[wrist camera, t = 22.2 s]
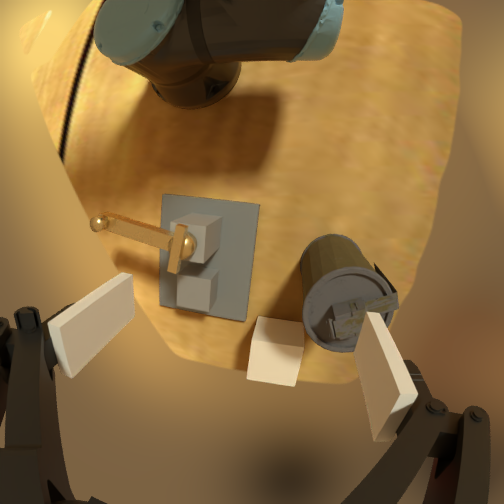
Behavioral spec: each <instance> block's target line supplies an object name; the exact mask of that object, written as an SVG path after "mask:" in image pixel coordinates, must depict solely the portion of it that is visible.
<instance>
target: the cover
mask: <svg viewBox="0 0 504 504" xmlns="http://www.w3.org/2000/svg"><path fill="white" fill-rule="evenodd" d="M303 351H304V324H303V322H295V321H288V320H282V319H275V318H268V317H262V316H258V319H257V322H256V326H255V330H254V333H253V337H252V342H251V349H250V357H249V364H248V371H247V378H246V379H249V380H254V381H260V382H267V383H273V384H280V385H287V386H295V383H296V379H297V376H298V372H299V368H300V364H301V360H302V356H303Z"/></svg>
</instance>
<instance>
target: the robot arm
mask: <svg viewBox="0 0 504 504" xmlns="http://www.w3.org/2000/svg"><path fill="white" fill-rule="evenodd" d="M343 1H344V0H106V1H105V3H104V4H103V6H102V8H101V9H100V11H99V14H98V16H97V19H96V22H95V27H94V40H95V44H96V46H97V48H98V49H99V51H100V52H101V53H102V54H103V55H105V56H106V57H108V58H110V59H111V60H112V62H113V63H115V64H117V65H120V66H121V65H122V66H124V67H126V68H128V69H130V70H132V71H134V72H135V73H137V74H139V75H141V76H143V77H145V78H147V79H149V80H150V82H151V84H152V86H153V89H154V90H155V92H156V93H157V94H158V96H159V97H160V98H162V99H163V100H164V101H166V102H167V103H169V104H171V105H174V106H176V107H179V108H183V109H198V108H203V107H206V106H209V105H211V104H213V103H215V102H217V101H219V100H220V99H222V98H223V97H224V96H225V95H226V94H227V93H228V92H229V91H230V90H231V89H232V88H233V86H234V85H235V83H236V82H237V80H238V77H239V75H240V71H241V62H248V61H286V62H295V61H316V60H321V59H323V58H324V57H327V56H328V55H329V54H330V53H331V52H332V50H333V49H334V47H335V44H336V42H337V39H338V36H339V33H340V29H341V24H342V19H343V11H344V8H343V5H342V4H343ZM134 316H135V310H134V293H133V274H128V273H123V272H121V273H120V274H118V275H117V276H115V277H114V278H112V279H111V280H109V281H108V282H106V283H105V284H103V285H102V286H100V287H99V288H97V289H96V290H94V291H93V292H91V293H90V294H88V295H87V296H85V297H84V298H82V299H81V300H79V301H78V302H77V303H73V304H70V305H67V306H66V307H64V308H63V309H61V311H58V312H57V313H56V314H54V315H53V316H51V317H50V318H48V319H47V320H46V321H44V322H43V323H41V320H40V315H39V310H38V309H37V308H35V307H22V308H20V309H18V310H17V311H16V312H15V313H14V318H15V321H16V325H17V329H14V328H10V325H9V321H8V319H6V318H3V317H0V426H1V422H2V420H3V417H4V413H5V411H6V421H5V448H0V504H107V503H104V502H102V501H100V500H98V499H96V498H94V497H91V498H90V500H89V501H88V502H87V501H81V500H76V499H75V498H74V495H73V493H72V491H71V489H70V485H69V481H68V476H67V471H66V467H65V461H64V456H63V450H62V444H61V437H60V430H59V422H58V412H57V401H56V386H55V372H54V369H53V367H54V366H55V365H56V364H57V363H58V366H59V369H60V372H61V373H62V374H64V375H66V376H68V377H70V378H73V377H74V376H75V375H76V374H77V373H78V372H79V371H80V370H81V369H82V368H83V367H84V366H85V365H86V364H87V363H88V362H89V361H90V360H91V359H92V358H93V357H94V356H95V355H96V354H97V353H98V352H99V351H100V350H101V349H102V348H103V347H104V346H105V345H106V344H107V343H108V342H109V341H110V340H111V339H112V338H113V337H114V336H115V335H116V334H117V333H118V332H119V331H120V330H121V329H122V328H123V327H124V326H125V325H126V324H127V323H128V322H129V321H130V320H131V319H133V318H134ZM354 358H355V362H356V365H357V369H358V373H359V377H360V382H361V386H362V390H363V394H364V398H365V403H366V407H367V412H368V416H369V421H370V425H371V430H372V435H373V440H374V442H385V441H391V440H392V438H393V436H394V435H395V433H397V439H396V440H395V441H394V442H393V444H392V445H391V447H390V448H389V449H388V450H387V452H386V453H385V454H384V455H383V457H382V458H381V459H380V460H379V462H378V463H377V464H376V465H375V467H374V468H373V469H372V470H371V471H370V473H369V474H368V475H367V476H366V477H365V478H364V479H363V480H362V482H361V483H360V484H359V485H358V486H357V487H356V488H355V489H354V490H353V491H352V492H351V493H350V495H349V496H348V497H347V498H346V499H345V500H344V501H343V502H342V503H341V504H397V502H398V501H399V500H400V498H401V497H402V495H403V494H404V492H405V491H406V490H407V488H408V486H409V485H410V483H411V482H412V480H413V479H414V477H415V476H416V474H417V472H418V471H419V469H420V467H421V466H422V464H423V462H424V461H425V459H426V457H427V456H428V457H434V460H433V465H432V470H431V474H430V479H429V482H428V486H427V490H426V494H425V498H424V501H423V504H487V503H488V493H489V481H490V421H489V416H488V414H487V413H486V411H485V410H484V409H482V408H480V407H478V406H470V407H468V408H466V409H465V411H464V412H463V414H458V413H452V412H449V411H448V408H447V406H446V405H445V404H444V403H443V402H442V401H440V400H438V399H435V398H433V397H432V395H431V393H430V391H429V389H428V387H427V385H426V383H425V381H424V379H423V377H422V375H421V373H420V371H419V369H418V367H417V366H416V365H415V364H414V363H413V362H412V361H411V360H403V359H402V357H401V355H400V353H399V351H398V349H397V347H396V345H395V343H394V341H393V339H392V337H391V335H390V333H389V331H388V329H387V327H386V325H385V323H384V321H383V319H382V317H381V315H380V313H375V312H366V315H365V318H364V322H363V325H362V328H361V332H360V335H359V338H358V341H357V344H356V348H355V351H354Z"/></svg>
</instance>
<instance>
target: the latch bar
mask: <svg viewBox="0 0 504 504" xmlns="http://www.w3.org/2000/svg"><path fill="white" fill-rule="evenodd" d="M90 227H91V229H92V231H94V232H99V231H102V230H107V231H110V232H113V233H116V234H119V235H122V236H125V237H128V238H131V239H134V240H136V241H139V242H142V243H145V244H148V245H151V246H154V247H157V248H160V249H163V250H166V251H169V253H170V258H169V264H168V269H167V271H168V272H171V273H174V274H177V273H178V272H179V270H180V265H181V260H184V259H186V258H188V257H189V256H190V255H191V254H193V253H194V252H195V251H196V249H197V240H196V238H195V236H194V235H193V234H192V233H190V232H187V231H188V227H189V226H187V225H184V224H180V223H179V224H177V225H176V228H175V232H172V231H169V230H165V229H162V228H159V227H156V226H152V225H149V224H146V223H143V222H140V221H136V220H133V219H130V218H127V217H124V216H120V215H117V214H114V213H111V212H103V213H99V216H97V217H94V218H92V219H91V221H90Z"/></svg>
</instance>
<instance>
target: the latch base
mask: <svg viewBox="0 0 504 504" xmlns="http://www.w3.org/2000/svg"><path fill="white" fill-rule="evenodd" d="M259 208H260V204H254V203H246V202H238V201H229V200H221V199H212V198H202V197H193V196H183V195H172V194H163V195H162V212H161V228H162V229H165V230H169V231H172V232H175V228H176V225H177V224H179V223H180V224H184V225H187V226H189V227H188V231H187V232H190V233H192V234H193V235H194V236H195V238H196V240H197V249H196V251H195V252H194V253H193V254H191V255H190V256H189V257H188V258H186V259H184V260H181V265H180V270H179V272H178V273H177V274H174V273H171V272H168V271H167V269H168V264H169V258H170V253H169V251H166V250H163V249H160V305H163V306H167V307H172V308H177V309H181V310H186V311H191V312H196V313H201V314H207V315H212V316H217V317H223V318H228V319H234V320H239V321H246V317H247V309H248V301H249V292H250V284H251V275H252V267H253V259H254V250H255V242H256V233H257V225H258V216H259Z"/></svg>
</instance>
